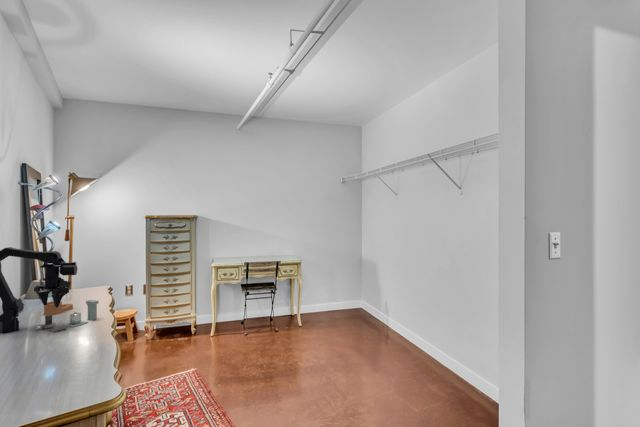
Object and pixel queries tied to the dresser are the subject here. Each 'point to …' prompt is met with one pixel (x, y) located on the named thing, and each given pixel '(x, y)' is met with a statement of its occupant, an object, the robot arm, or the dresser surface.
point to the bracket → (56, 308)
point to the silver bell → (75, 318)
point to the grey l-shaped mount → (91, 313)
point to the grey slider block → (47, 323)
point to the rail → (55, 328)
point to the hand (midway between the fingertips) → (50, 306)
